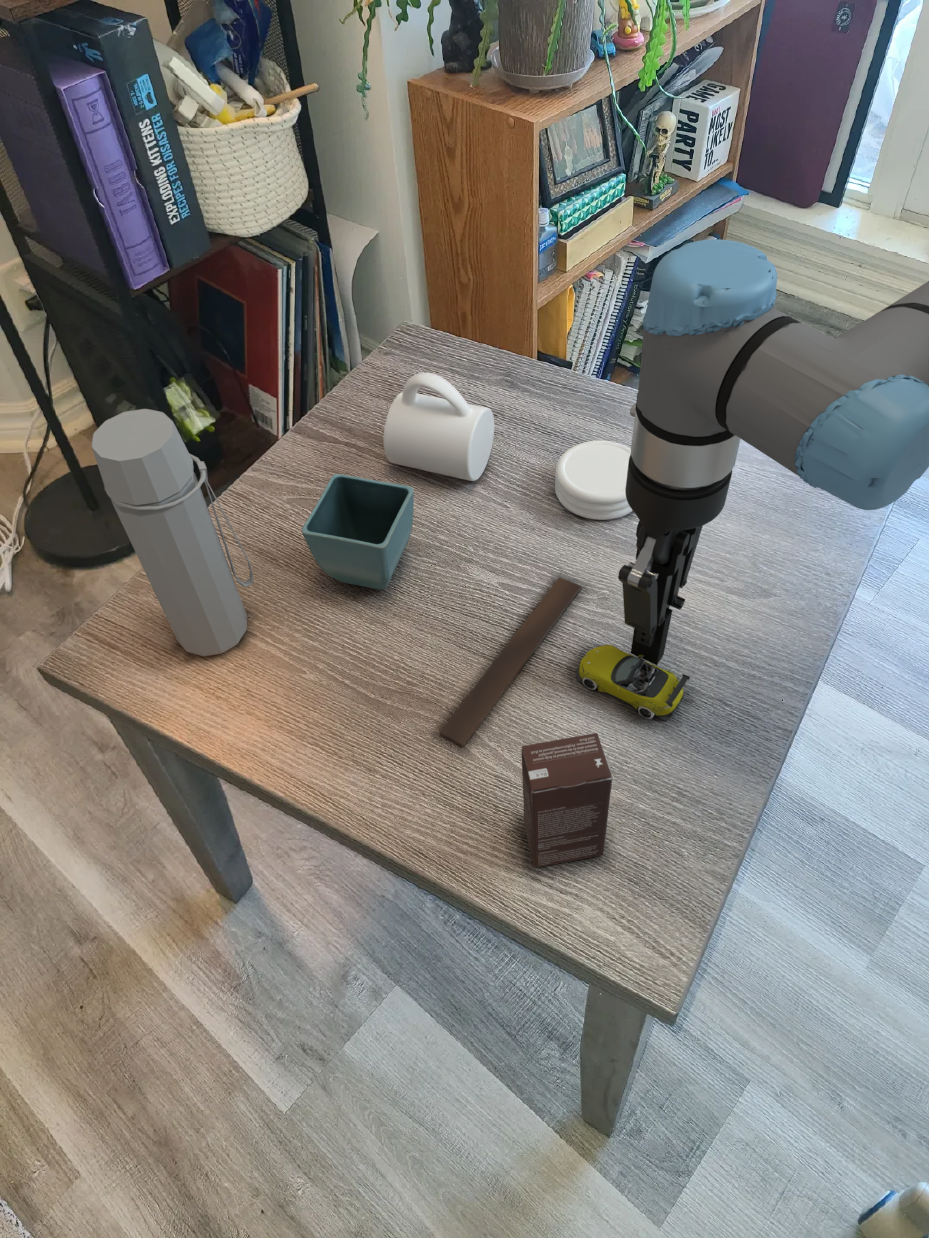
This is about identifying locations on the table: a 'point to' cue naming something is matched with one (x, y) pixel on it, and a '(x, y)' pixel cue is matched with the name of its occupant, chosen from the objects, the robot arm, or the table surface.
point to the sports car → (632, 681)
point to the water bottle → (172, 528)
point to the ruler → (509, 663)
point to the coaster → (594, 479)
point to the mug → (438, 430)
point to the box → (565, 799)
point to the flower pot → (360, 529)
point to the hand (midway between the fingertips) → (646, 653)
